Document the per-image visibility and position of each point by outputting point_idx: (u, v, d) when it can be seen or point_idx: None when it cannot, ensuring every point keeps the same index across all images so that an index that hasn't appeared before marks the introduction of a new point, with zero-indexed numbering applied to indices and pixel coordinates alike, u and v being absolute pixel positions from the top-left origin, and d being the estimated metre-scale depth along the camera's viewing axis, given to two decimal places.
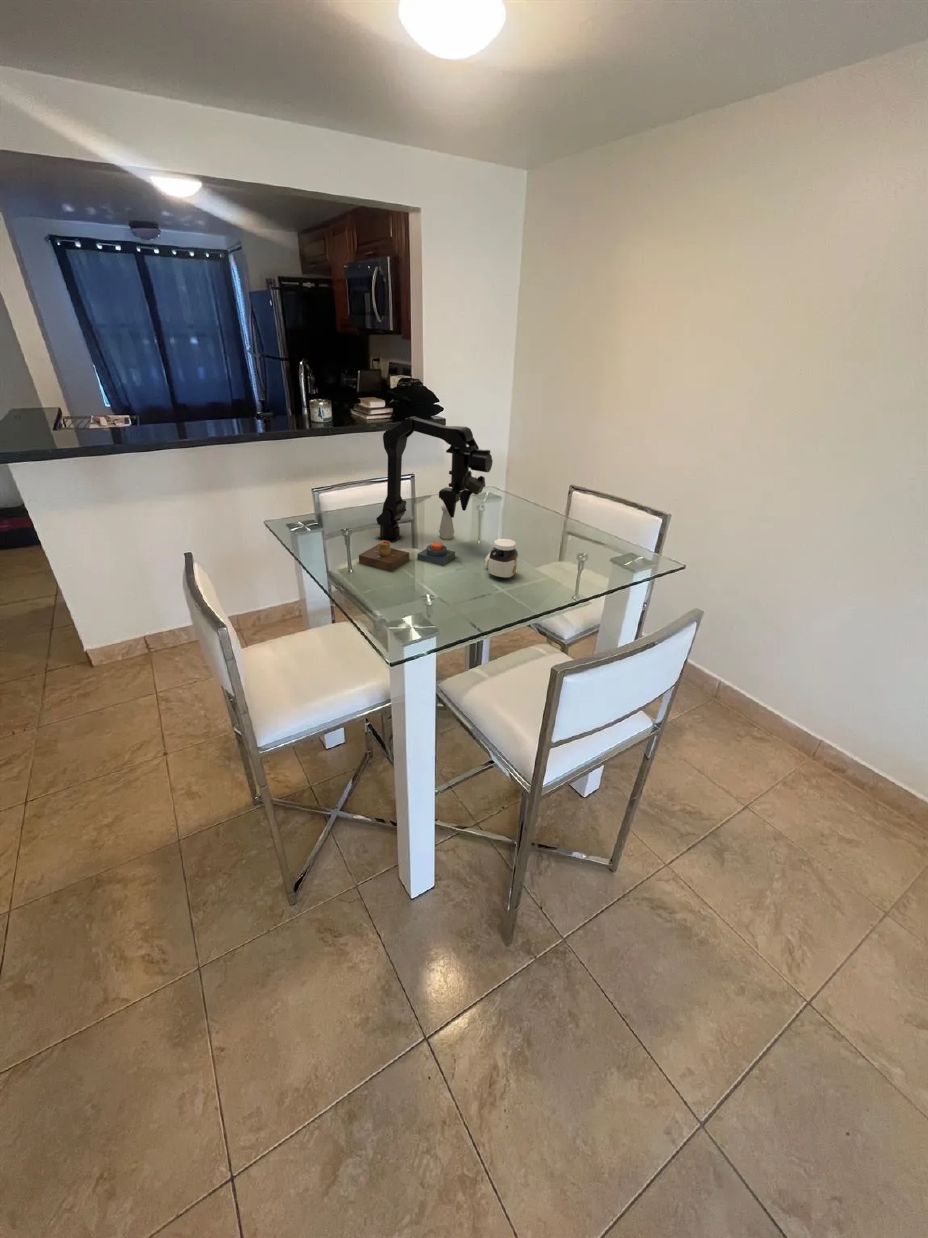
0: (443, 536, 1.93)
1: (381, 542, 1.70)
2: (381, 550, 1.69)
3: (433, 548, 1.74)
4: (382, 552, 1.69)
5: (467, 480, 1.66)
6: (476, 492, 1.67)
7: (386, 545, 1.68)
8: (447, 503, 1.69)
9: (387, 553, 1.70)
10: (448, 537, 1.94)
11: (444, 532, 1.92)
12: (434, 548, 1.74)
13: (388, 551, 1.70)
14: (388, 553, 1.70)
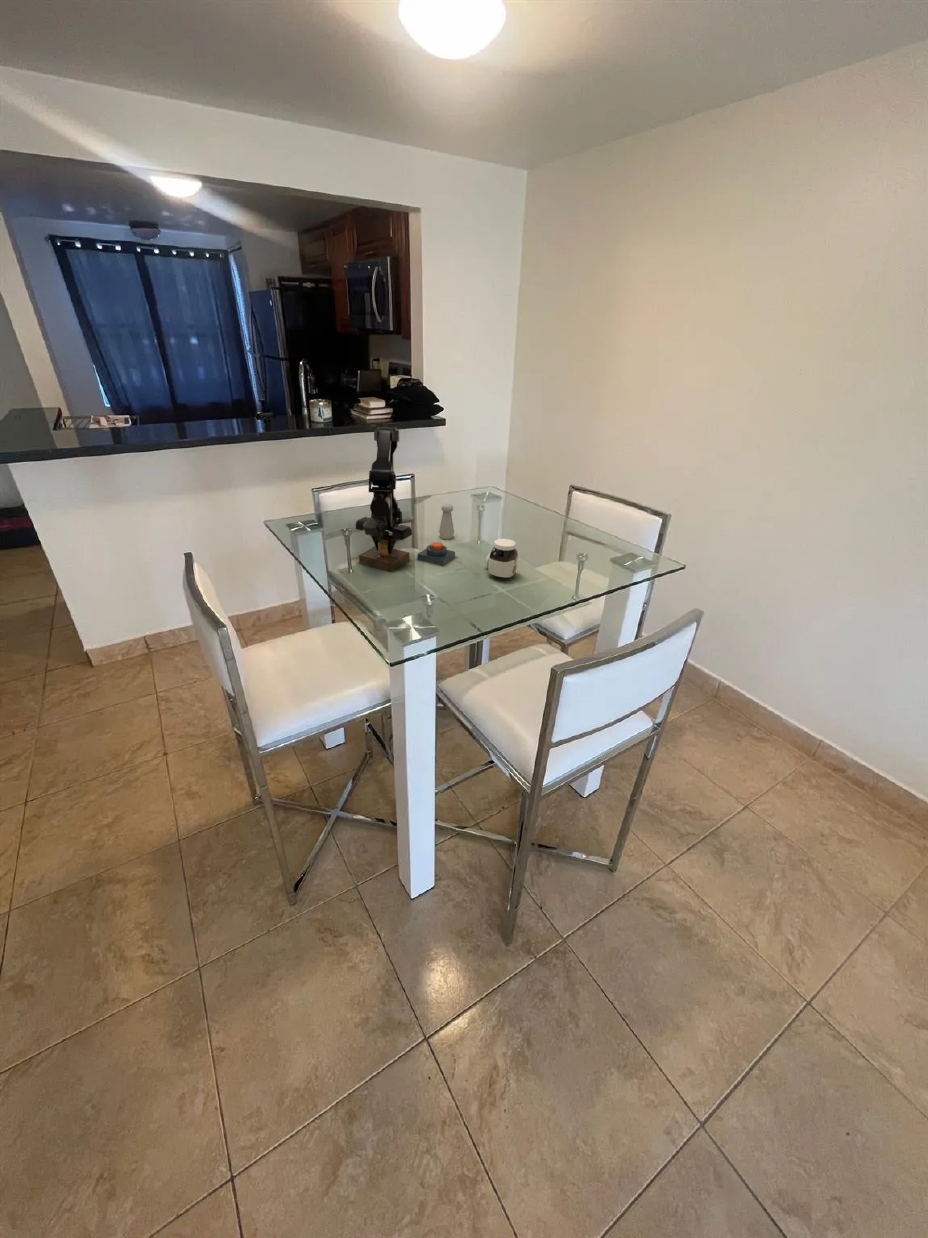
0: (443, 536, 1.93)
1: (381, 542, 1.70)
2: (381, 550, 1.69)
3: (433, 548, 1.74)
4: (382, 552, 1.69)
5: None
6: None
7: (386, 545, 1.68)
8: None
9: (387, 553, 1.70)
10: (448, 537, 1.94)
11: (444, 532, 1.92)
12: (434, 548, 1.74)
13: None
14: None
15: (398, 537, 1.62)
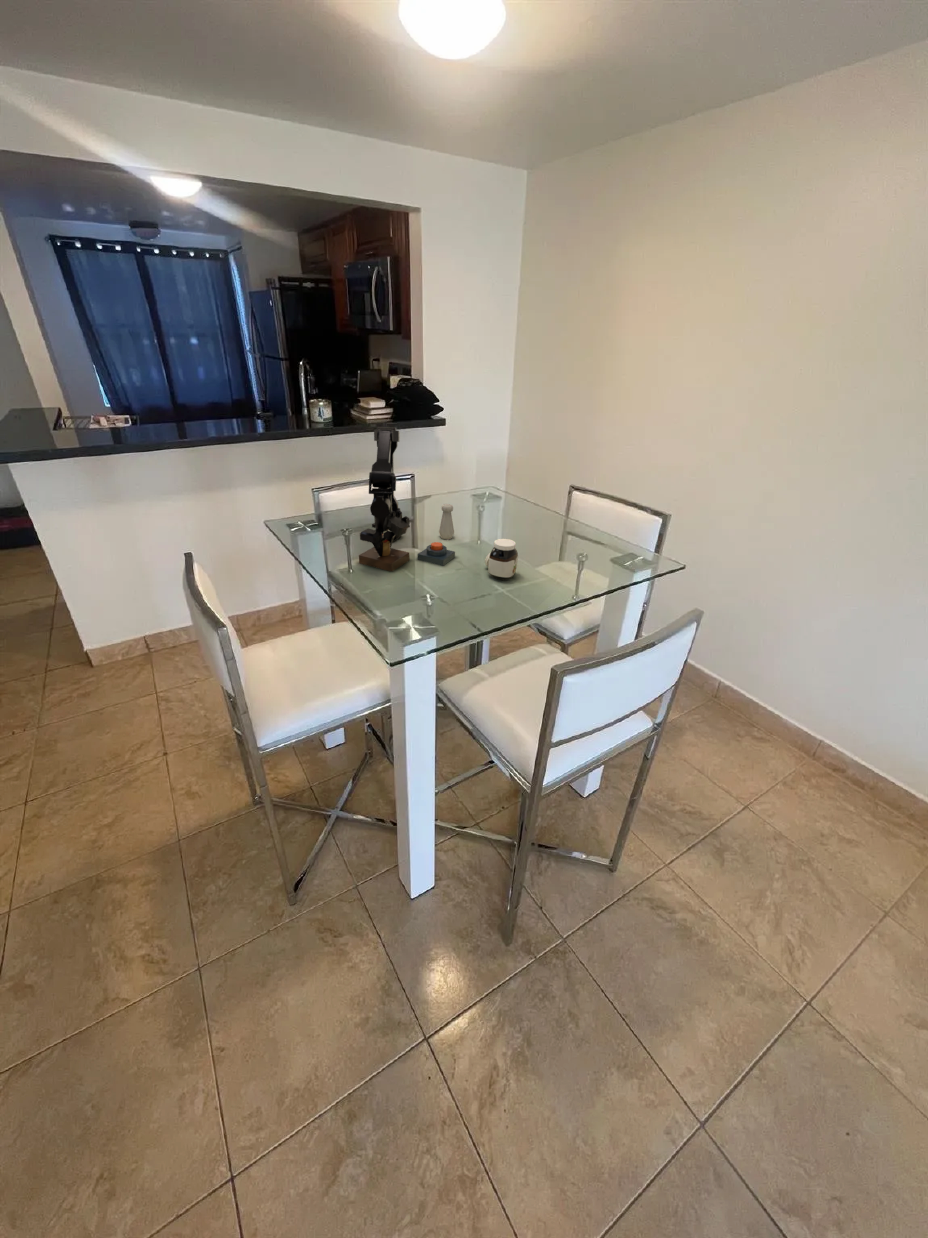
0: (443, 536, 1.93)
1: (384, 543, 1.69)
2: (389, 550, 1.70)
3: (433, 548, 1.74)
4: (389, 551, 1.71)
5: (389, 521, 1.62)
6: (398, 534, 1.63)
7: None
8: (374, 542, 1.67)
9: None
10: (448, 537, 1.94)
11: (444, 532, 1.92)
12: (434, 548, 1.74)
13: None
14: None
15: None
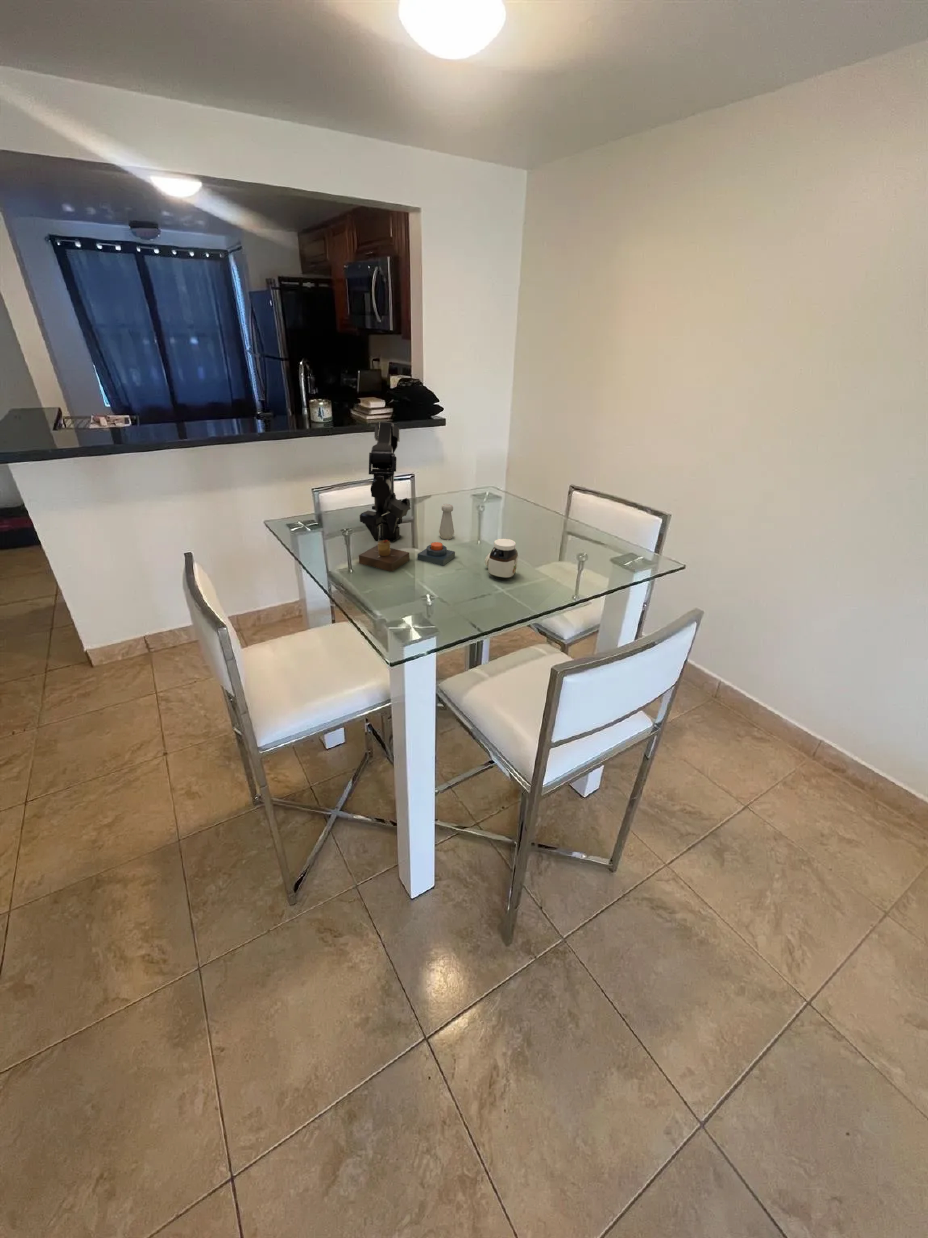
0: (443, 536, 1.93)
1: (384, 543, 1.69)
2: (389, 550, 1.70)
3: (433, 548, 1.74)
4: (389, 551, 1.71)
5: (389, 503, 1.59)
6: (399, 515, 1.60)
7: None
8: (370, 527, 1.62)
9: None
10: (448, 537, 1.94)
11: (444, 532, 1.92)
12: (434, 548, 1.74)
13: None
14: None
15: None
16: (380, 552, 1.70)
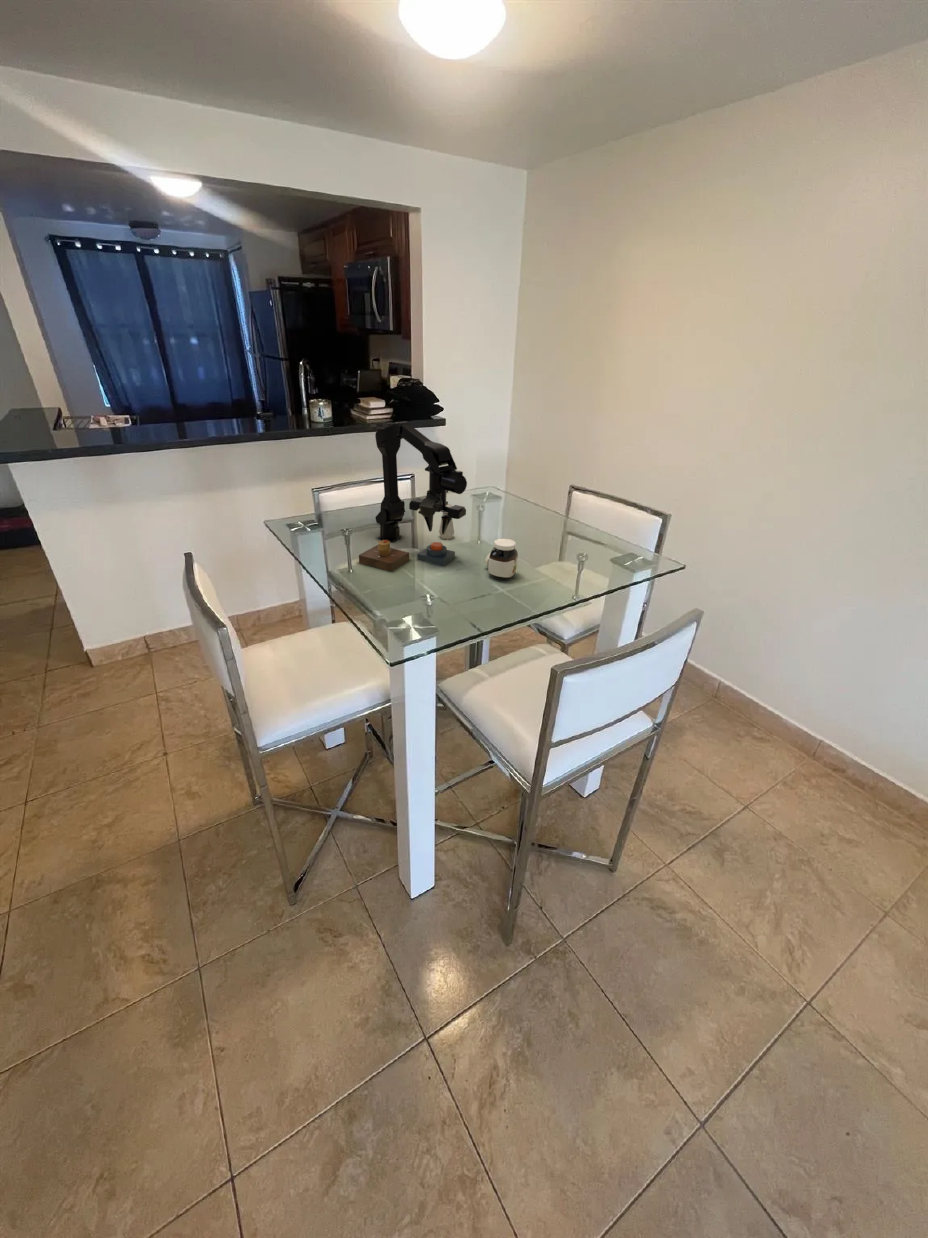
0: (443, 536, 1.93)
1: (384, 543, 1.69)
2: (389, 550, 1.70)
3: (433, 548, 1.74)
4: (389, 551, 1.71)
5: (426, 498, 1.65)
6: (420, 511, 1.64)
7: None
8: None
9: None
10: (448, 537, 1.94)
11: None
12: (434, 548, 1.74)
13: None
14: None
15: (453, 516, 1.64)
16: (380, 552, 1.70)
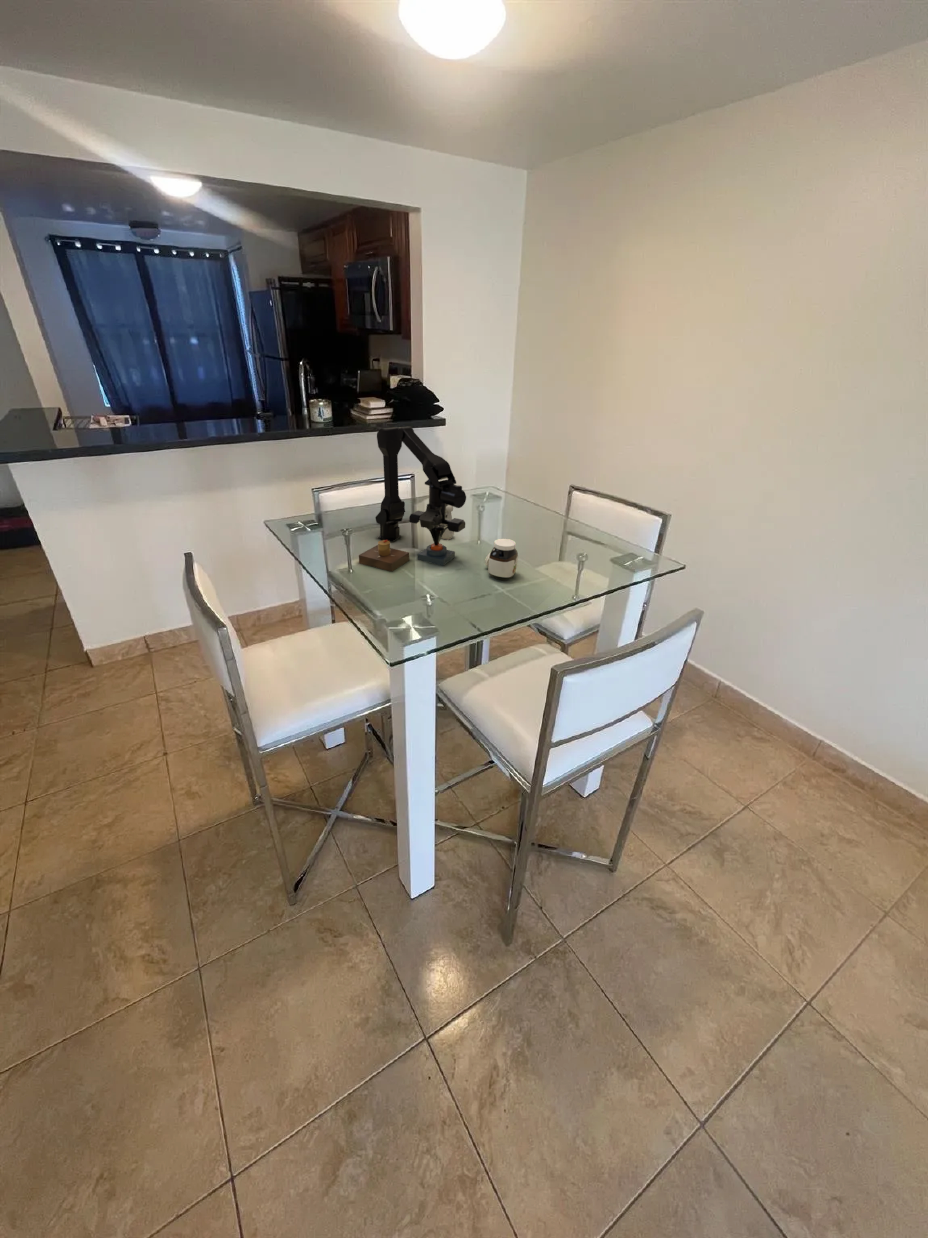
0: (443, 536, 1.93)
1: (384, 543, 1.69)
2: (389, 550, 1.70)
3: (433, 549, 1.74)
4: (389, 551, 1.71)
5: None
6: (420, 524, 1.66)
7: None
8: None
9: None
10: (448, 537, 1.94)
11: (444, 532, 1.92)
12: (434, 549, 1.74)
13: None
14: None
15: (453, 530, 1.66)
16: (380, 552, 1.70)
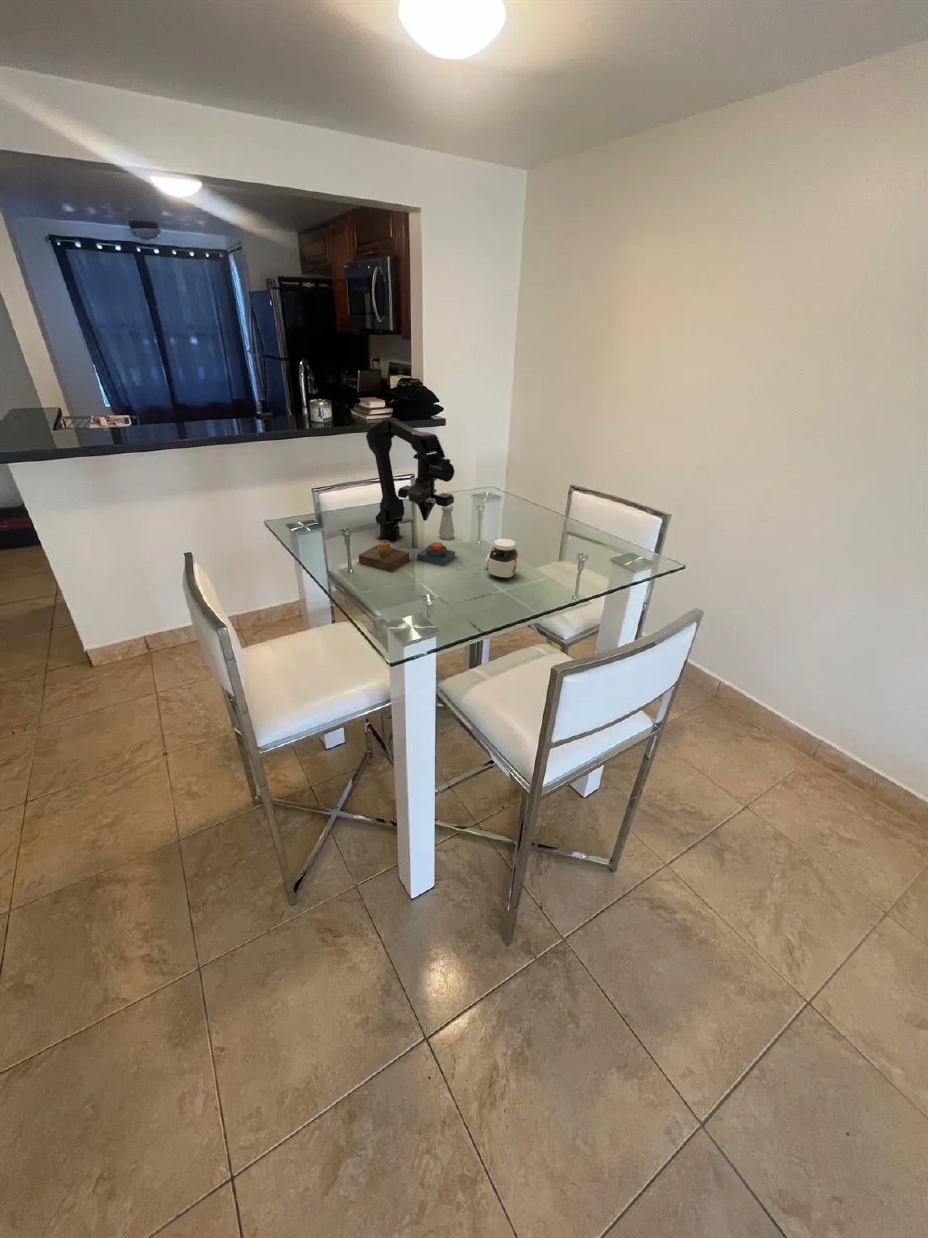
0: (443, 536, 1.93)
1: (384, 543, 1.69)
2: (389, 550, 1.70)
3: (433, 548, 1.74)
4: (389, 551, 1.71)
5: None
6: None
7: None
8: None
9: None
10: (448, 537, 1.94)
11: (444, 532, 1.92)
12: (434, 548, 1.74)
13: None
14: None
15: (441, 504, 1.66)
16: (380, 552, 1.70)
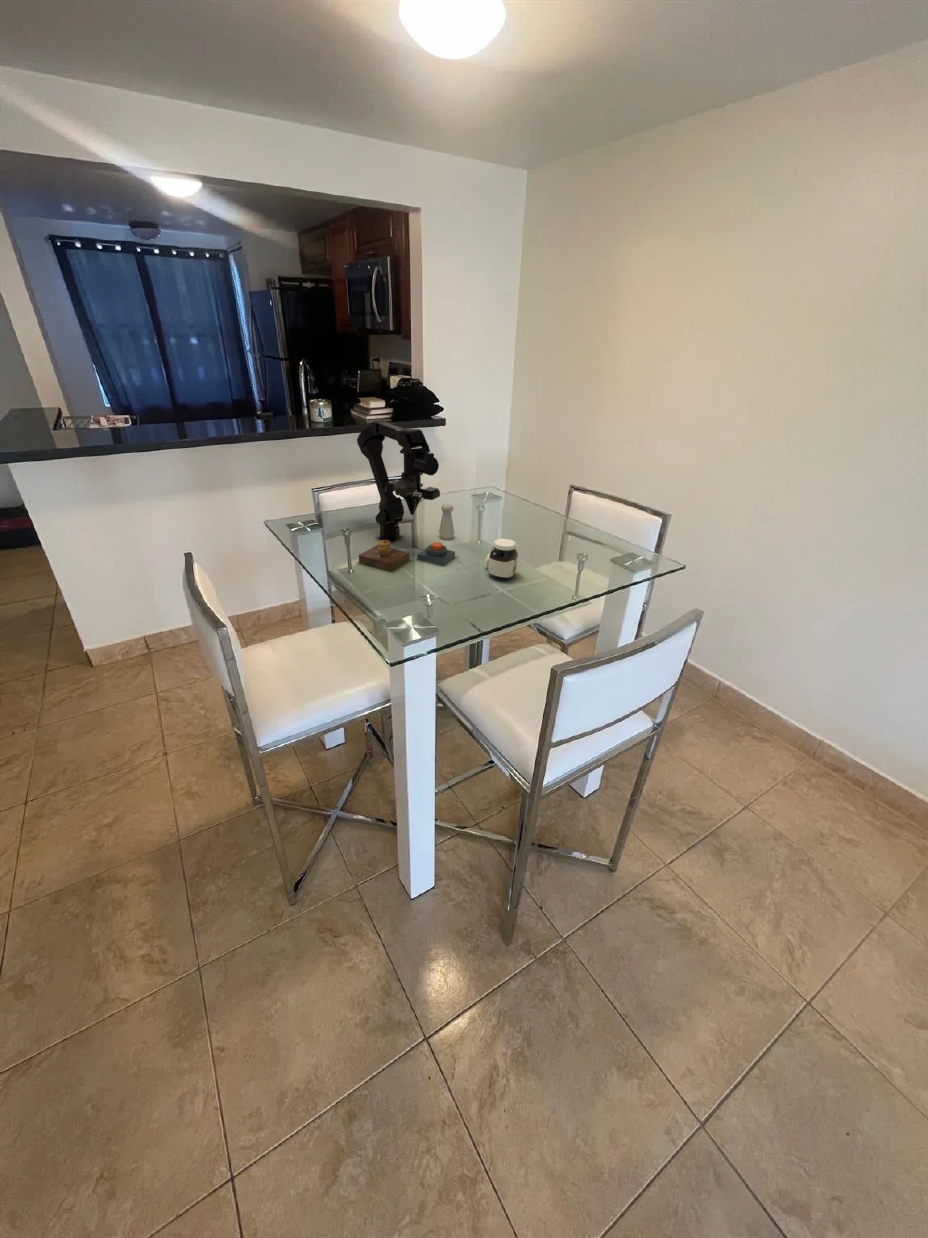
0: (443, 536, 1.93)
1: (384, 543, 1.69)
2: (389, 550, 1.70)
3: (433, 548, 1.74)
4: (389, 551, 1.71)
5: None
6: (395, 492, 1.68)
7: None
8: None
9: None
10: (448, 537, 1.94)
11: (444, 532, 1.92)
12: (434, 548, 1.74)
13: None
14: None
15: (427, 498, 1.69)
16: (380, 552, 1.70)
